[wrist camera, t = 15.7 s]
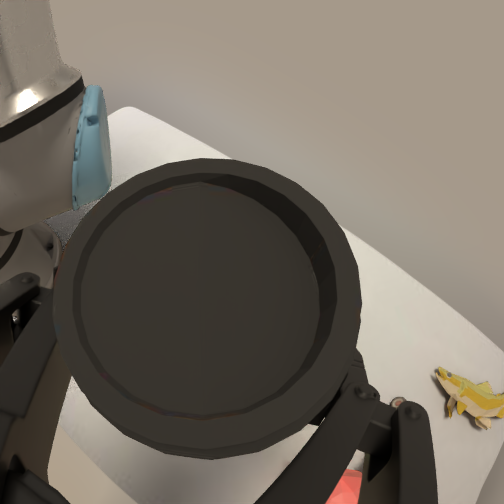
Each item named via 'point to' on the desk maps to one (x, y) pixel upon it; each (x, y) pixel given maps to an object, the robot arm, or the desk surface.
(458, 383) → the toy
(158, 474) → the desk surface
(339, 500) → the cat figurine
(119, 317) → the coffee cup
